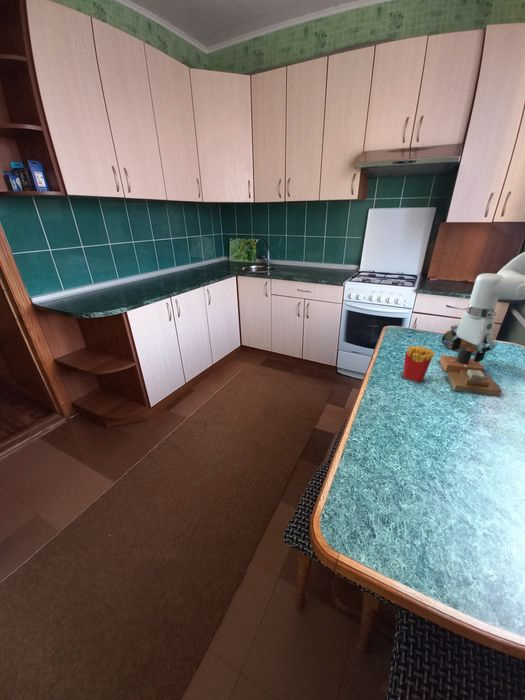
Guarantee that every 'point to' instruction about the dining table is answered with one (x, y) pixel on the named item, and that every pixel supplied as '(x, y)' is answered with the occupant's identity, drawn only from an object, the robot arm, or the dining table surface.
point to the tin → (448, 342)
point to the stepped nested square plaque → (473, 384)
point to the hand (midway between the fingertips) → (465, 355)
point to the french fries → (417, 362)
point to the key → (475, 374)
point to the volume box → (459, 364)
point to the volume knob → (464, 355)
